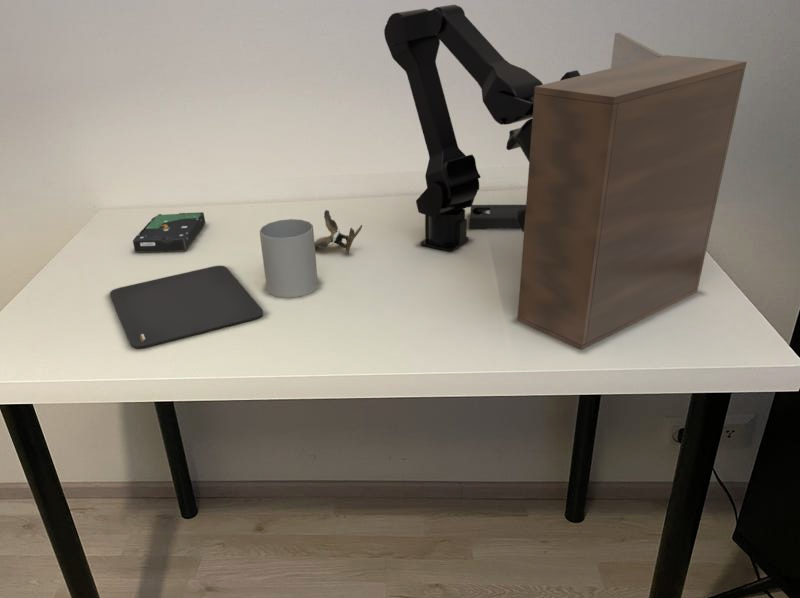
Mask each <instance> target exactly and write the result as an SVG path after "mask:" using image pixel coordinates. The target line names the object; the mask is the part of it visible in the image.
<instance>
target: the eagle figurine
mask: <svg viewBox="0 0 800 598" xmlns="http://www.w3.org/2000/svg"><path fill="white" fill-rule="evenodd" d="M323 218H324V221H325V222H324V223H325V227H326V229H327V230H328V232H330V235H329V236H323V237H319V238H318V239H316V240H314V243H315V248H320V249H324V248H326V247H328V245H330V244H331V246H333V245H334V244H335V245H338V246H340V247H341V248H344V249H345V252H346V253H345V254H347V255H348V256H349V254H350V249H351V247H352V244H353V242H354V240H355V238H356V237H357V235H358V234H359V233H360V232H361V230H362V227H363V224H360V225H359V227H358V228H357V229H356V231H355V229H353V228H352V227H350V228H349V233H348V234H347V235H345V234H344V233H341V232H340V231H341V229H340V228H339V226H338V224H337V222H336V220H335V219H332V216H331V214H330V211H329V210H328V209H325V210H324V213H323ZM343 240H345V242H346V243H344V242H343Z"/></svg>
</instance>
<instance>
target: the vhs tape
mask: <svg viewBox="0 0 800 598" xmlns="http://www.w3.org/2000/svg"><path fill="white" fill-rule="evenodd" d="M525 205H526V204H472V207H470V212H469V230H487V229H489V230H490V229H495V230H497V229H502V230H503V229H509V230H510V229H512V230H514V229H516V230H517V229H519V230H520V229H521V227H520V226H519V224H518V222H517V212H518V211H519V210H520V209H522V208H523V207H524V206H525ZM521 230H522V229H521Z"/></svg>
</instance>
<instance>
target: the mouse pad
mask: <svg viewBox="0 0 800 598" xmlns="http://www.w3.org/2000/svg"><path fill="white" fill-rule="evenodd" d="M109 295H110V298H111V300H112V304H113V306H114V308H115V311H116V313H117V315H118V317H119V320H120V322H121V325H122V328H123V329H124V332H125V335H126V337H127V339H128V342H129V344H130V346H131V347H132V348H136V349H141V348H148V347H152V346H155V345H158V344H163V343H166V342H167V343H168V342H170V341H175V340H178V339H183V338H186V337H187V338H188V337H189V336H190V337H191V336H194V335H198V334H202V333H206V332H210V331H214V330H217V329H221V328H225V327H230V326H233V325H237V324H241V323H245V322H249V321H253V320H257V319H260V318H261V317H263V315H264V310H263V309H262V307H261V306H260V305H259V304H258V303H257V301H256V300H255V299H254V298H253V296H251V294H250V293H249V292H248V291H247V289H245V287H244V286H243V285H242V284H241V283H240V282H239V280H238V279H237V278H236V277H235V276H234V274H233V273H232V271H230V270H229V268H228V267H226V266H224V265H214V266H209V267H205V268H201V269H196V270H191V271H187V272H182V273H178V274H174V275H169V276H165V277H159V278H156V279H151V280H147V281H142V282H138V283H135V284H128V285H126V286H121V287H118V288H113V289H112V290H111V291H110V293H109Z"/></svg>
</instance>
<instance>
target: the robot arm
mask: <svg viewBox="0 0 800 598" xmlns="http://www.w3.org/2000/svg"><path fill="white" fill-rule="evenodd" d="M469 19H470V18H468V17H467V16H466V14H465V10H464V9H463V7H461V6H460V5H457V4H449V5H443V6H436V7H434V8H432V9H430V10H429V9H427V8H418V9H412V10H405V11H400V12H399V11H398V12H394V13H392V14H391V15H390V16H389V17H388V19H387V21H386V24H385V26H384V29H383V33H384V34H383V35H384V39H385V42H386V45H387V48H388V50H389V53H390V55H391V58H392V59H393V60H394V61H395V62H396V63H397V64H398V65H399V67H400V68H401V69H403V71H404V72H405V73H406V76H407V80H408V83H409V87H410V91H411V95H412V99H413V102H414V106H415V109H416V113H417V116H418V120H419V124H420V127H421V131H422V135H423V138H424V142H425V145H426V150H427V154H428V157H429V159H428V163H427V168H426V171H425V184H426V188H425V190H424V191H423V192H422V193H421V194H420V195H419V196H418V198H417V199H415V204H416V208H417V212H418V213H419V214H422V215H424V239H423V240H421V241H420V243H419V244H420V246H422V247H428V248H433V249H436V250H442V251H445V252H446V251H447V252H453V251H454V250H456V249H458V248H459V247H460V246H462V245H463V244H465V243H466V242H468V241H470V240H469V239H470V237H469V236H468V234H467V233H468V219H467V217H466V209H467V208H471V207H472V205H474V204H473V203H474V201H475V198H476V196H477V194H478V191H479V190H480V180H479V179H481V175H480V173H479V171H478V168H477V163H476V158H475V156H474V155H473V154H468V155H466V154H465V153H464V152H463V151H462V150H461V149H460V148H459V145H458V141H457V138H456V133H455V129H454V127H453V122H452V119H451V115H450V111H449V108H448V104H447V99H446V97H445V93H444V89H443V84H442V81H441V78H440V74H439V70H438V66H437V57H438V53H439V49H440V44H441V43H442V44H443V45H444V46H445V47H446V49H447V50H448V51H449V52H450V53H451V54H452V55H453V56H454V58H455V59H456V60H457V61H458V63H460V65H461V66H462V67H463V68H464V70H466V72H467V73H468V74H469V75H470V76H471V77H472V78H473V79H474V80H475V82H476V83H477V85H478V86H479V88H480V89H481V98H482V102H483V105H484V106H485V108H486V109H487V111H488V112H489V114H490V115H491V118H492V119H493V120H494V122H496V123H497V124H499V125H502V126H503V125H505V126H506V125H512V124H515V123H519V122H523V121H525V122H524V124H522V125H521V127H518V128H515V129H511V130H509V132H508V133H509V137H508V140H507V142H506V148H505V149H506V150H507V151H511V150H514V149H518V148H519V149H520V150H521V152H522V153H523V154H524V156H525V158H526V160H527V162H529V160H530V147H531V133H532V120H533V107H534V94H535V93H534V92H535V86H540V85H544V84H543V82H542V81H541V80H540V79H539V78H537V77H536V76H535V75H533V74H532V73H530V71H528V70H526V69H525V68H522V67H520V66H517V65H514V64H512V63H510V62H509V61H508V60H506V59H505V58H504V57H503V56H502V54H501V53H500V52H499V51H498V50H497V49H496V48H495V47H494V46H493V45H492V43H491V42H490V41H489V40H488V39H487V37H485V36H484V35H483V33H482V32H480V30H479V29H478V28H477V27H476V26H475V24H473V23H472V21H470V20H469ZM577 76H581V73H580V71H579V70H577V69H576V70H570V71H567V72H565V73H564V75H562V77H561V78H560V80H565V79H569V78H573V77H577ZM524 205H525V206H524V207H523V208H522V209H520V210H519V211H518V212H517V222H518V224H519V226H520V227H521V231H522V232H523V233H524V227H525V213H526V204H524Z"/></svg>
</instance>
